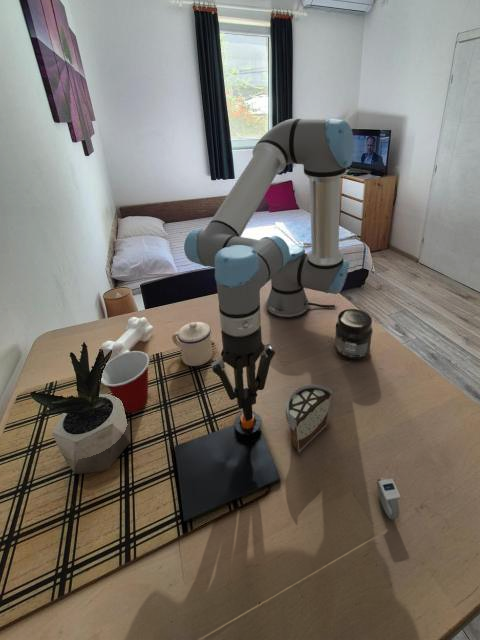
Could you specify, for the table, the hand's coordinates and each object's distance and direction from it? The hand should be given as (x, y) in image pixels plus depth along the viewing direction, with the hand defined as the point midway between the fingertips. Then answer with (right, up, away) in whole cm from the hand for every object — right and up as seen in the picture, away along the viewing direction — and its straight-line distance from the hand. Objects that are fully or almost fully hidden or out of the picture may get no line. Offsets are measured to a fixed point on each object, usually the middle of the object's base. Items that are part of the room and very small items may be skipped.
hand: (247, 415), depth 71 cm
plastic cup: (-29, -2, +9) cm, 30 cm away
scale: (-4, -8, -5) cm, 10 cm away
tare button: (0, -2, +1) cm, 2 cm away
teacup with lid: (-19, +5, +25) cm, 32 cm away
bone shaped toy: (-38, +6, +26) cm, 47 cm away
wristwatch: (+27, -11, -12) cm, 31 cm away
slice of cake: (+12, -5, +2) cm, 13 cm away
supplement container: (+28, +6, +27) cm, 39 cm away
